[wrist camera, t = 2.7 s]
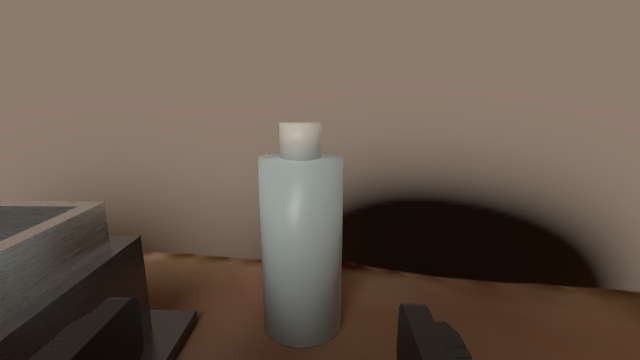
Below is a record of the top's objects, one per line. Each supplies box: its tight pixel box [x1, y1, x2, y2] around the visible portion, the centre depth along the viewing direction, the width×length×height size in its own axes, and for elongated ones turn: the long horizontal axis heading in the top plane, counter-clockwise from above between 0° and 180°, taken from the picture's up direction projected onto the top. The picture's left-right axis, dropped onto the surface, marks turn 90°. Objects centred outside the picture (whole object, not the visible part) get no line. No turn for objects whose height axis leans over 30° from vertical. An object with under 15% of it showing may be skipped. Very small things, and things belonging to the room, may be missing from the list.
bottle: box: [258, 122, 343, 348], centre depth 22 cm, size 5×5×13 cm
